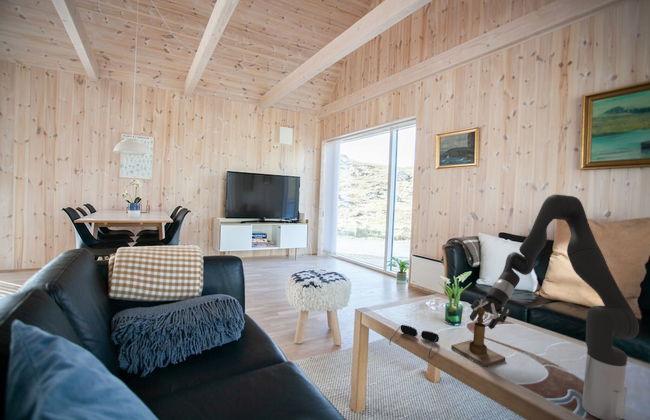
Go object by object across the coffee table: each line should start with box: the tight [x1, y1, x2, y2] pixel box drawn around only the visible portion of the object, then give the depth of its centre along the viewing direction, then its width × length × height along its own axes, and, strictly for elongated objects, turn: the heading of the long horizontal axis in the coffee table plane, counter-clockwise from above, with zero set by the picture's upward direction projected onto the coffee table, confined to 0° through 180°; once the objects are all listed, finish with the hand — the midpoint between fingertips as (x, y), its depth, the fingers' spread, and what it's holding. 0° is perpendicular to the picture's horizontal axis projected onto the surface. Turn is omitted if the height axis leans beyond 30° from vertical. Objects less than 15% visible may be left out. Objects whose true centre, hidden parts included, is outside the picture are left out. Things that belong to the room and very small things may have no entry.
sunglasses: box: [389, 324, 440, 357], centre depth 142 cm, size 17×15×5 cm
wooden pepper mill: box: [469, 307, 488, 355], centre depth 135 cm, size 7×6×18 cm
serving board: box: [450, 339, 506, 368], centre depth 135 cm, size 16×12×2 cm
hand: (480, 323), depth 135 cm, fingers open, 8 cm apart
